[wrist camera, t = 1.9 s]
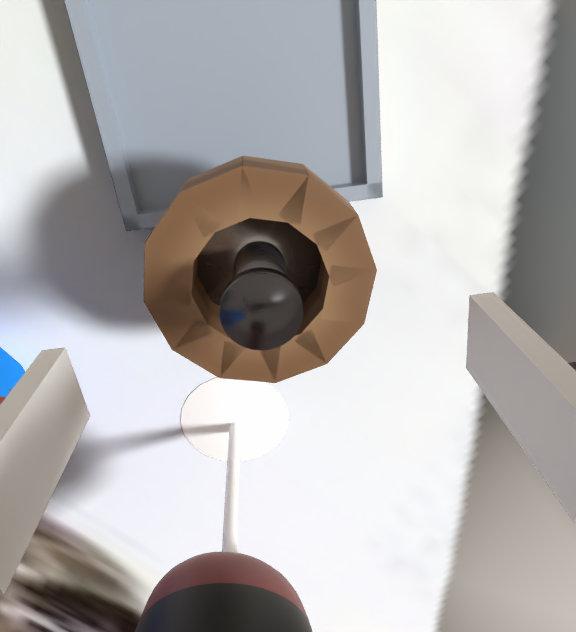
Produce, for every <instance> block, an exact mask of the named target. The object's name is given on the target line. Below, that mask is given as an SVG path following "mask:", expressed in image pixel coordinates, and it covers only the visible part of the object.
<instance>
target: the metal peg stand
mask: <svg viewBox="0 0 576 632" xmlns="http://www.w3.org/2000/svg"><path fill="white" fill-rule="evenodd" d="M321 260H322V256H321V254H320V251H319V249H318V246H317V244H316V243H314V242H313V241H312V240H310V239H309V238H308V237H306V236H305V235H304V234H302V233H301V232H300V231H298V230H297V229H296V228H294V227H293V226H292V225H290V224H289V223H287V222H279V221H271V220H263V219H255V218H249V219H246V220H244V221H241V222H239V223H236V224H234V225H232V226H229V227H227V228H224V229H222V230H219V231H217V232H215V233H214V234H213V236H212V237H211V238H210V240H209V241H208V242H207V244H206V245H205V246H204V248H203V249H202V251H201V252H200V253H199V255H198V265H197V275H198V277H199V279H200V281H201V283H202V284H203V286H204V288H205V290H206V292H207V294H208V296H209V298H210V300H211V301H212V302H213V303H215V304H217V305H218V306H220V321H221V325H222V327H223V329H224V331H225V332H226V334H227V335H228V336H229V337H230V338H231V339H232V340H233V341H234V342H236V343H237V344H239V345H240V346H243V347H245V348H248V349H252V350H270V349H274V348H277V347H280V346H282V345H284V344H285V343H287V342H288V341H289V340H291V339H292V338H293V337H294V336H295V334H296V333H297V332H298V330H299V328H300V326H301V324H302V320H303V305H302V303H303V302H304V301H305V300H306V298H307V297H308V296H309V295H310V294H311V293H312V291H313V290H314V289H315V288H316V287H317V281H318V276H319V270H320V265H321Z"/></svg>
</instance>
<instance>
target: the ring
mask: <svg viewBox="0 0 576 632" xmlns="http://www.w3.org/2000/svg"><path fill="white" fill-rule="evenodd" d="M249 218H255V219H263V220H271V221H279V222H287V223H289V224H290V225H292V226H293V227H294V228H296V229H297V230H298V231H300V232H301V233H302V234H304V235H305V236H306V237H308V238H309V239H310V240H312V241H313V242H314V243H316V244H317V246H318V249H319V251H320V254H321V256H322V260H321V265H320V270H319V276H318V281H317V287H316V288H315V289H314V290H313V291H312V293H311V294H310V295H309V296H308V297H307V298H306V300H305V301H304V302H303V303H302V305H303V320H302V324H301V326H300V328H299V330H298V332H297V333H296V334H295V336H294V337H293V338H292V339H291V340H289V341H288V342H287V343H285V344H284V345H282V346H280V347H277V348H274V349H270V350H252V349H248V348H245V347H243V346H240V345H239V344H237V343H236V342H234V341H233V340H232V339H231V338H230V337H229V336H228V335H227V334H226V332H225V331H224V329H223V327H222V325H221V321H220V306H218V305H217V304H215V303H213V302H212V301H211V300H210V298H209V296H208V294H207V292H206V290H205V288H204V286H203V284H202V283H201V281H200V279H199V277H198V275H197V265H198V255H199V253H200V252H201V251H202V249H203V248H204V246H205V245H206V244H207V242H208V241H209V240H210V238H211V237H212V236H213V234H214V233H215V232H217V231H219V230H222V229H224V228H227V227H229V226H232V225H234V224H236V223H239V222H241V221H244V220H246V219H249ZM376 271H377V269H376V266H375V263H374V260H373V257H372V254H371V252H370V249H369V246H368V243H367V240H366V237H365V234H364V231H363V228H362V225H361V222H360V219H359V216H358V214H357V213H356V211H355V210H354V209H353V207H352V206H351V204H350V203H349V202H348V200H347V199H345V198H344V197H343V196H342V195H340V194H339V193H338V192H337V191H335V190H334V189H333V188H332V187H331V186H329V185H328V184H327V183H326V182H324V181H323V180H322V179H321V178H320V177H318V176H317V175H316V174H315V173H313V172H312V171H311V170H310V169H308V168H307V167H306V166H305V165H304V164H300V163H293V162H286V161H278V160H271V159H264V158H257V157H250V156H241V157H238V158H236V159H234V160H231V161H229V162H227V163H224V164H222V165H220V166H217V167H215V168H213V169H210V170H208V171H206V172H203V173H201V174H198V175H196V176H194V177H191V178H189V179H187V181H186V182H185V184H184V185H183V187H182V188H181V189H180V191H179V192H178V194H177V195H176V197H175V198H174V200H173V201H172V202H171V204H170V205H169V207H168V208H167V210H166V211H165V213H164V214H163V215H162V217H161V218H160V220H159V221H158V223H157V224H156V226H155V227H154V229H153V231H152V232H151V234H150V236H149V237H148V239H147V241H146V242H145V265H144V303H145V304H146V306H147V308H148V310H149V311H150V313H151V315H152V316H153V318H154V320H155V321H156V323H157V325H158V327H159V328H160V330H161V332H162V333H163V335H164V337H165V338H166V340H167V342H168V344H169V345H170V347H171V349H172V350H173V351H175V352H177V353H179V354H180V355H182V356H184V357H185V358H187V359H189V360H190V361H192V362H194V363H195V364H197V365H199V366H200V367H202V368H204V369H205V370H207V371H209V372H210V373H212V374H214V375H215V376H217V377H219V378H223V379H234V380H246V381H258V382H270V383H277V382H279V381H282V380H285V379H287V378H290V377H293V376H295V375H298V374H301V373H304V372H306V371H309V370H312V369H314V368H317V367H320V366H322V365H325V364H327V363H328V362H329V361H330V360H331V359H332V358H333V357H334V356H335V355H336V354H337V352H338V351H339V350H340V349H341V348H342V347H343V346H344V345H345V344H346V343H347V342H348V341H349V340H350V338H351V337H352V336H353V335H354V334H355V333H356V332H357V331H358V330H359V329H360V328H361V327H362V326H363V324H364V322H365V318H366V314H367V309H368V305H369V301H370V297H371V292H372V288H373V284H374V280H375V276H376Z"/></svg>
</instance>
